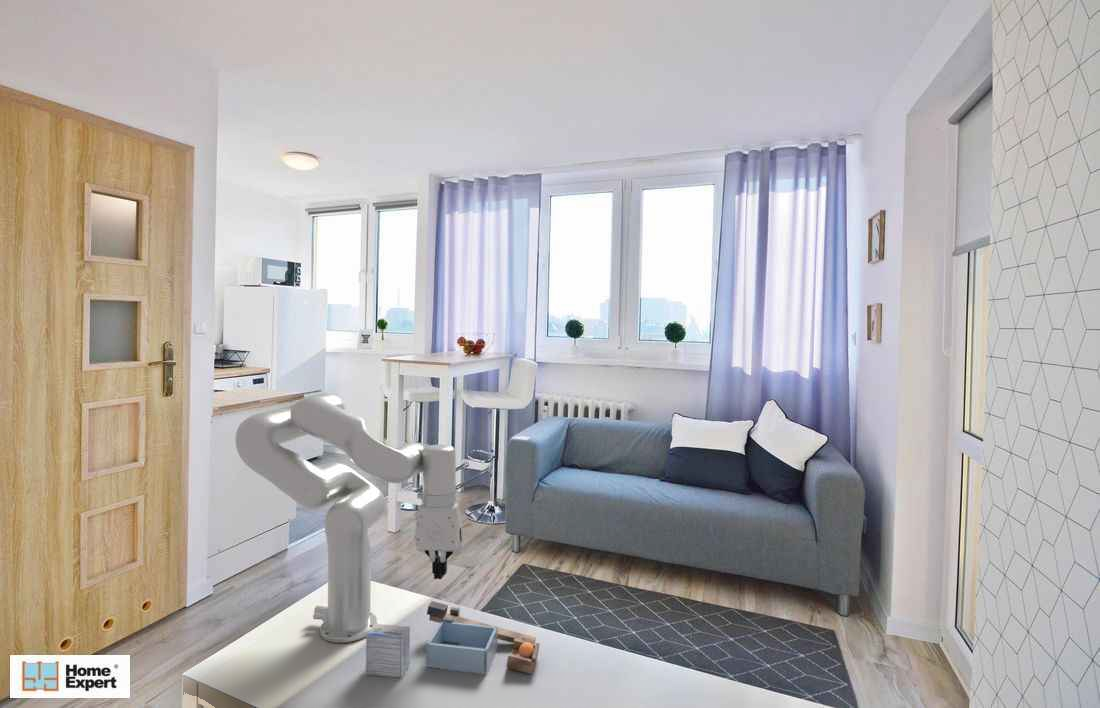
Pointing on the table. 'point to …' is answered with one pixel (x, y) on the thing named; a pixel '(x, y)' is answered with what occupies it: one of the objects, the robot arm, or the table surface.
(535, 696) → the table surface
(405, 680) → the table surface
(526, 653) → the ball
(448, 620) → the fulcrum
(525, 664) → the lever
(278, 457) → the robot arm
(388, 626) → the medicine box
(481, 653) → the bin
